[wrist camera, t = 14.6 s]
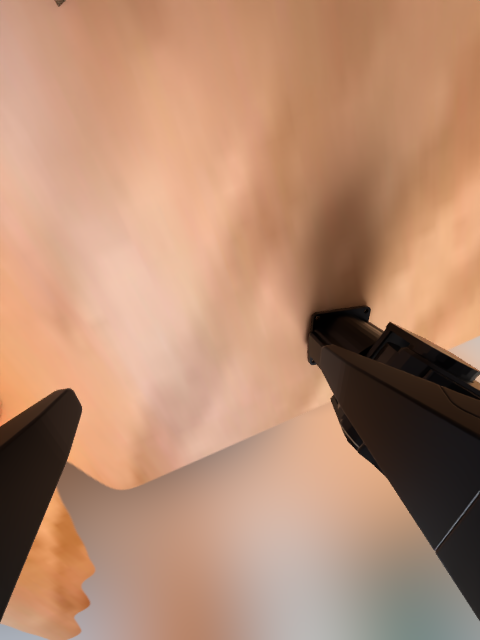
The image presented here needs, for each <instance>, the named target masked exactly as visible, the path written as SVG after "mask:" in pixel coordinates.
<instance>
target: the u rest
mask: <svg viewBox="0 0 480 640" xmlns="http://www.w3.org/2000/svg"><path fill="white" fill-rule="evenodd" d="M64 1H65V0H55V2H56V3H57V5H58V6H60V5H61V4H62V3H63V2H64Z"/></svg>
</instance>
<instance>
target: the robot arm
mask: <svg viewBox="0 0 480 640" xmlns="http://www.w3.org/2000/svg"><path fill="white" fill-rule="evenodd" d="M365 310H366V311H365ZM364 311H365V312H364ZM370 311H371V309H370V307H368V306H358V307H351V308H344V309H338V310H331V311H324V312H317V313H314V314H313V315H312V319H311V331H310V333H309V339H308V354H309V355H308V362H309V363H310V364H311V365H316V364H317V365H318V367H319V368H320V369H321V370H322V372H323V374H324V376H325V378H326V380H327V382H328V384H329V386H330V388H331V390H332V392H333V394H334V395H333V396H332V397H331V402H332V404H333V407H334V410H335V412H336V415H337V417H338V420H339V423H340V425H341V427H342V430H343V433H344V435H345V437H346V438H347V441H348V442H349V443H350V444H351V445H352V446H353V447H354V448H355V449H356V450H357V451H358V453H359V454H360V455H362V456H363V457H364V458H365V459H367V460H368V461H369V462H371V463H372V464H373V465H374V466H375V467H376V468H377V469H378V470H379V471H380V472H381V473H382V474H383V475H385V476H386V478H387V479H388V480H389V482H390V483H391V485H392V486H393V488H394V490H395V491H396V493H397V494H398V496H399V497H400V499H401V500H402V502H403V503H404V505H405V506H406V508H407V510H408V511H409V513H410V514H411V516H412V517H413V519H414V520H415V522H416V523H417V525H418V526H419V528H420V530H421V531H422V532H423V534H424V536H425V537H426V539H427V540H428V542H429V543H430V545H431V546H432V548H433V549H434V550H435V551H436V555H437V556H438V558H439V559H440V561H441V562H442V564H443V565H444V567H445V568H446V570H447V571H448V573H449V575H450V576H451V577H452V579H453V581H454V582H455V584H456V585H457V587H458V588H459V590H460V591H461V593H462V595H463V596H464V597H465V599H466V600H467V602H468V604H469V605H470V607H471V608H472V610H473V611H474V613H475V615H476V616H477V618H478V619H479V620H480V383H479V382H477V381H476V380H475V379H476V377H477V376H479V375H480V371H479V370H477V369H476V368H474V367H472V366H471V365H470V364H468V363H466V362H465V361H463V360H462V359H460V358H459V357H457V356H456V355H454V354H452V353H451V352H449V351H447V350H445V349H443V348H441V347H439V346H438V345H436V344H434V343H432V342H430V341H428V340H426V339H424V338H422V337H420V336H418V335H416V334H414V333H412V332H410V331H408V330H406V329H404V328H402V327H400V326H398V325H396V324H393V323H391V322H389V323H388V325H387V326H386V329H385V331H383V330H381V329H380V328H378V327H376V326H375V325H373V324H372V323H370V322H369V316H370ZM317 316H318V318H317V319H316V317H317ZM312 360H313V361H312ZM81 413H82V406H81V404H80V402H79V400H78V398H77V396H76V394H75V393H74V391H73V390H72V389H70V388H67V389H61V390H57V391H54V392H53V393H51V394H50V395H48V396H47V397H45V398H44V399H42V400H41V401H39V402H37V403H36V404H34V405H33V406H31V407H30V408H28V409H27V410H25V411H24V412H22V413H20V414H19V415H17V416H16V417H14V418H13V419H11V420H10V421H8V422H7V423H5V424H4V425H2V426H0V622H1V619H2V617H3V614H4V612H5V609H6V607H7V605H8V602H9V600H10V597H11V595H12V593H13V590H14V588H15V585H16V583H17V580H18V578H19V576H20V573H21V571H22V568H23V566H24V563H25V561H26V559H27V556H28V554H29V551H30V549H31V547H32V544H33V542H34V539H35V537H36V534H37V532H38V530H39V527H40V525H41V522H42V520H43V517H44V515H45V513H46V510H47V508H48V505H49V503H50V501H51V498H52V496H53V493H54V491H55V488H56V486H57V484H58V481H59V479H60V476H61V474H62V471H63V469H64V467H65V464H66V461H67V459H68V456H69V453H70V450H71V447H72V443H73V440H74V437H75V433H76V430H77V427H78V423H79V420H80V417H81Z"/></svg>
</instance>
